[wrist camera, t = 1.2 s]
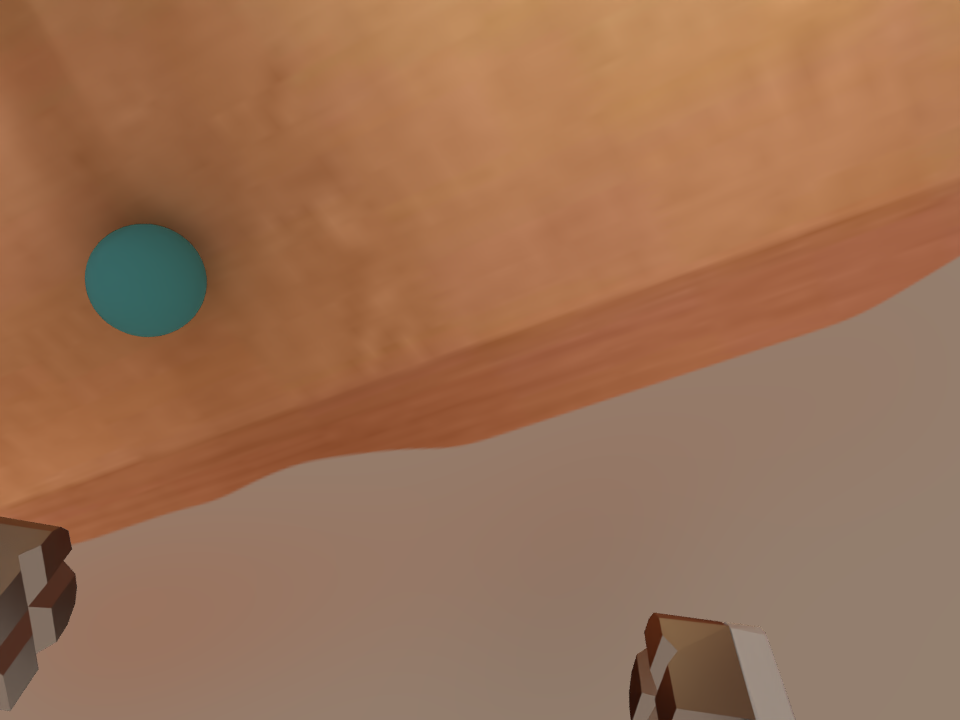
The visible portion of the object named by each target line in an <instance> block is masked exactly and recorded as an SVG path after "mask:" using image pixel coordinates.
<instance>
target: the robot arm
mask: <svg viewBox="0 0 960 720" xmlns="http://www.w3.org/2000/svg"><path fill="white" fill-rule="evenodd" d="M71 550H72V547H71V542H70V536H69V531H68V530H66V529H64V528H62V527H58V526H53V525H47V524H41V523H35V522H29V521H23V520H17V519H11V518H6V517H0V710H5V711H11V709H12V708H13V706H14V705H15V703H16V702H17V700H18V699H19V697H20V696H21V694H22V693H23V691H24V690H25V688H26V687H27V685H28V684H29V683H30V681H31V680H32V678H33V676H34V675H35V674H36V672H37V671H38V664H37V657H36V654H37V653H38V652H40V651H42V650H44V649H45V648H47V647H49V646H51V645H52V644H54V643H56V642H57V640H58V639H59V637H60V636H61V634H62V633H63V631H64V629H65V628H66V626H67V625H68V622H69V619H70V616H71V614H72V611H73V608H74V605H75V600H76V591H77V584H76V576H75V573H74V572H73V571H72V570H71V569H70V567H69V566H68V565H67V564H66V563H65V562H64V559H65V558H66V556H67V555H68V554H69V553H70V551H71ZM644 634H645V641H646V647H647V648H646V649H644V650H643V651H642V652H640V653H638V654H637V655H636V659H635V662H634V665H633V669H632V673H631V681H630V689H629V707H630V717H631V720H796V719H795V716H794V713H793V710H792V707H791V704H790V701H789V698H788V696H787V693H786V690H785V687H784V684H783V681H782V678H781V675H780V673H779V669H778V667H777V664H776V661H775V658H774V655H773V652H772V649H771V647H770V643H769V641H768V638H767V635H766V632H765V631H764V630H763V629H762V628H761V627H758V626H750V625H743V624H735V623H728V622H724V623H722V622H718V621H712V620H704V619H697V618H690V617H682V616H675V615H668V614H660V613H653V614H652V616H651V617H650V618H649V620H648V623H647V626H646V629H645V631H644Z"/></svg>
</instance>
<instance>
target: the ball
mask: <svg viewBox="0 0 960 720" xmlns="http://www.w3.org/2000/svg"><path fill="white" fill-rule="evenodd" d="M85 285H86V291H87V294H88V297H89V300H90V302H91V304H92V306H93V307H94V309H95V310H96V312H97V313H98V314H99V315H100V316H101V317H102V319H104V320H105V321H106V322H107V323H108V324H110V325H111V326H113V327H114V328H116V329H118V330H120V331H122V332H125V333H127V334H131V335H135V336H142V337H155V336H162V335H165V334H169V333H171V332H173V331H176V330H178V329H180V328H181V327H183V326H184V325H185V324H187V323H188V322H189V321H190V320H191V319H192V318H193V317H194V316H195V315H196V313H197V312H198V310H199V309H200V307H201V305H202V303H203V300H204V297H205V294H206V287H207V277H206V271H205V267H204V264H203V262H202V260H201V257H200V255H199V254H198V252H197V251H196V249H195V248H194V247H193V246H192V245H191V244H190V243H189V242H188V241H187V240H186V239H185V238H184V237H182V236H181V235H179V234H178V233H176V232H174V231H172V230H170V229H168V228H165V227H162V226H158V225H153V224H135V225H129V226H125V227H122V228H120V229H118V230H115V231H113V232H112V233H110V234H108V235H107V236H106V237H105V238H104V239H102V240H101V241H100V242H99V243H98V244H97V246H96V247H95V248H94V250H93V252H92V253H91V255H90V257H89V260H88V262H87V266H86V271H85Z"/></svg>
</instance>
